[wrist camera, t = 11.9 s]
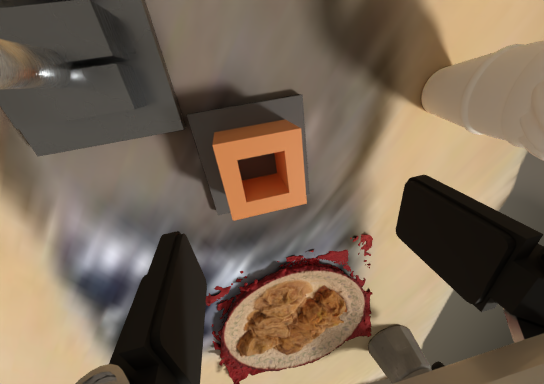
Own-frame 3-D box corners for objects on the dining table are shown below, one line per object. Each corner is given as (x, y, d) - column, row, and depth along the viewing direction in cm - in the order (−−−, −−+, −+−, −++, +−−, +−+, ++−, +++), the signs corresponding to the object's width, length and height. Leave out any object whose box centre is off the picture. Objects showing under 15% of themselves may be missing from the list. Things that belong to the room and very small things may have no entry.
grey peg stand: (135, -28, 14) (-1, -206, 5) (185, 127, 19) (155, 164, 10) (-56, -9, 13) (-638, -203, 4) (48, 152, 18) (-123, 219, 9)
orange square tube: (285, 119, 20) (301, 128, 16) (291, 182, 23) (306, 203, 19) (214, 132, 19) (212, 145, 15) (231, 196, 22) (233, 220, 18)
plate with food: (364, 325, 41) (376, 344, 38) (233, 375, 38) (234, 400, 35) (365, 226, 30) (382, 241, 27) (182, 285, 27) (178, 309, 24)
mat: (299, 94, 20) (302, 94, 19) (306, 190, 24) (309, 194, 24) (187, 114, 18) (186, 115, 18) (218, 211, 23) (218, 215, 22)
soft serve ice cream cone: (403, 57, 20) (822, -4, 6) (483, 30, 21) (1044, -85, 7) (402, 142, 24) (653, 222, 10) (468, 118, 25) (798, 163, 11)
